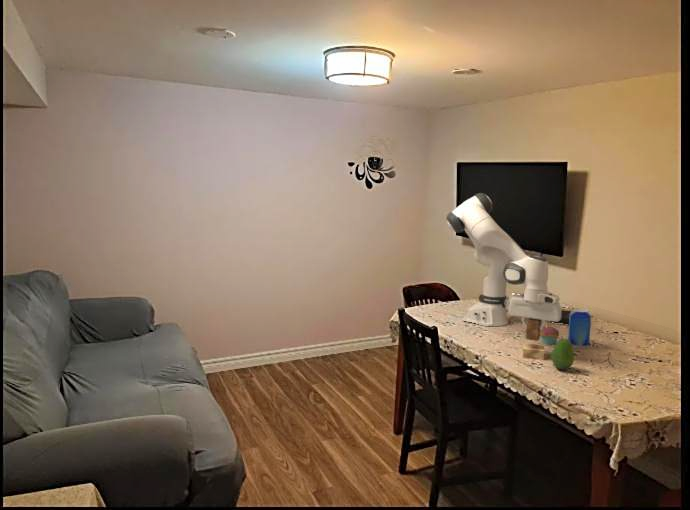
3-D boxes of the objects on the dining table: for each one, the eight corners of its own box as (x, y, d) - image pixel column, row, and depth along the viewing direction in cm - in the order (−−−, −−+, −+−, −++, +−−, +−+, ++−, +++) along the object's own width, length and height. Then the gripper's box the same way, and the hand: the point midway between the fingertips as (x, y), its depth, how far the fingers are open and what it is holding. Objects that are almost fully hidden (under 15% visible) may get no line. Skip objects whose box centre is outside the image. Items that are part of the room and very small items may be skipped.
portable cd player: (586, 328, 257) (587, 320, 257) (549, 323, 266) (550, 315, 265) (590, 320, 271) (590, 313, 271) (554, 316, 280) (555, 309, 279)
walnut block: (525, 339, 213) (526, 319, 212) (528, 336, 217) (529, 317, 216) (537, 341, 211) (538, 321, 210) (540, 338, 214) (541, 319, 213)
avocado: (577, 371, 197) (579, 340, 195) (560, 373, 195) (562, 342, 193) (563, 364, 204) (565, 334, 203) (546, 366, 202) (547, 336, 200)
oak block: (522, 358, 212) (523, 348, 212) (523, 352, 220) (523, 343, 219) (543, 360, 210) (544, 351, 209) (543, 354, 217) (544, 345, 217)
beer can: (587, 344, 230) (590, 308, 228) (590, 349, 222) (592, 312, 220) (567, 342, 233) (569, 306, 231) (568, 347, 225) (570, 311, 223)
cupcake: (549, 346, 227) (550, 319, 225) (533, 341, 234) (535, 315, 233) (562, 343, 231) (564, 317, 229) (547, 338, 238) (548, 312, 237)
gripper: (507, 293, 215) (505, 326, 216) (560, 300, 203) (558, 334, 205) (511, 291, 220) (510, 323, 222) (563, 297, 208) (561, 331, 210)
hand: (533, 329), depth 213 cm, fingers closed on walnut block, 4 cm apart
